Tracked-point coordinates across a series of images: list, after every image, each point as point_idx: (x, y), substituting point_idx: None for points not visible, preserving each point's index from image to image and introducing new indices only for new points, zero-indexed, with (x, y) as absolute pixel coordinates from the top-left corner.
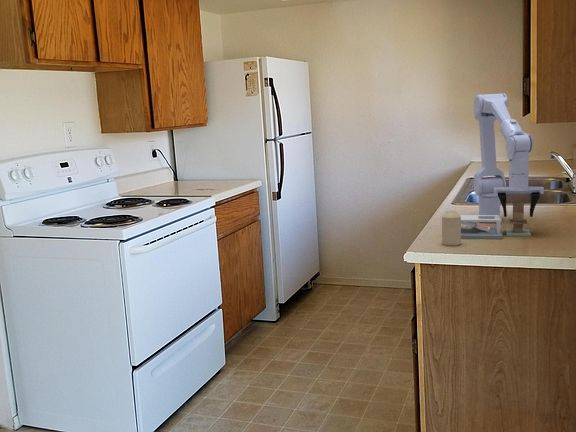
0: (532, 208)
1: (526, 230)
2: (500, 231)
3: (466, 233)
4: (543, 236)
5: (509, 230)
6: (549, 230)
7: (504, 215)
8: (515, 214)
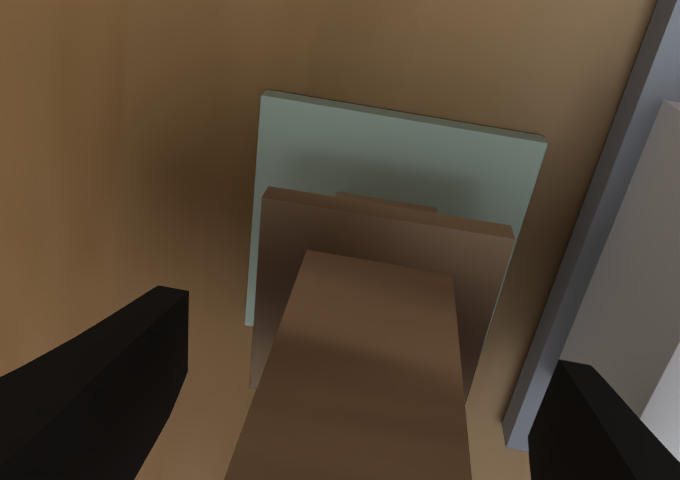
0: (86, 355)
1: None
2: (604, 228)
3: None
4: (127, 53)
5: None
6: (57, 316)
7: (601, 378)
8: (426, 335)
